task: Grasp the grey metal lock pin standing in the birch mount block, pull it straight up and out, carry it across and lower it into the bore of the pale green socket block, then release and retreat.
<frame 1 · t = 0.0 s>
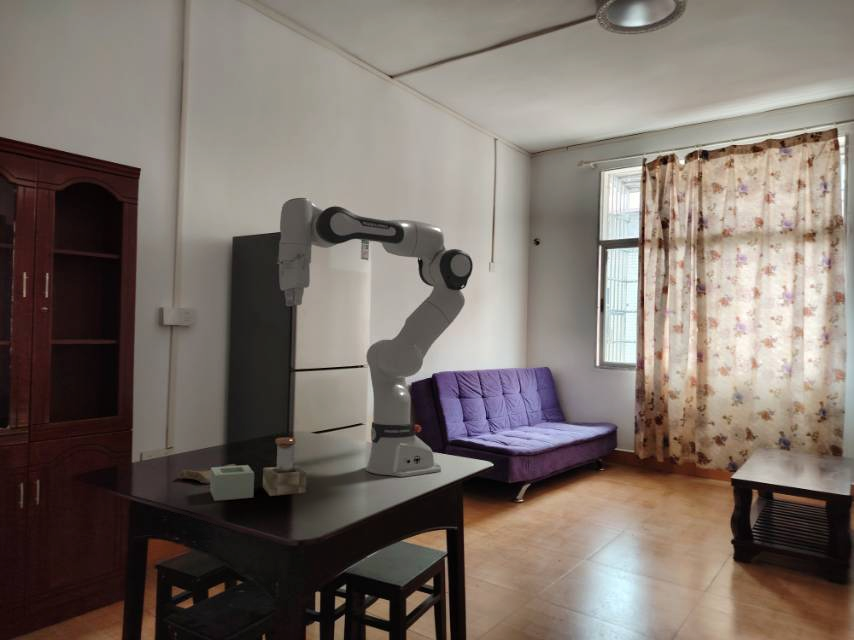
hand: (293, 305, 171), 48 cm above the table, fingers open, 8 cm apart
lock pin: (284, 464, 158), in the mount block
mount block: (283, 489, 157), on the table
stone: (211, 480, 168), on the table
socket block: (231, 494, 152), on the table
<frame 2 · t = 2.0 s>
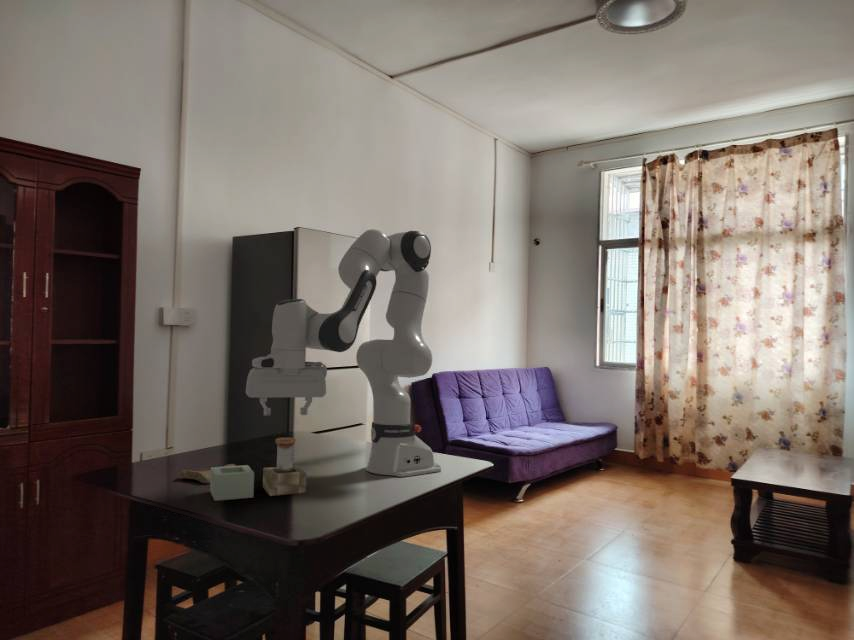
hand: (285, 415, 158), 19 cm above the table, fingers open, 8 cm apart
nothing on the table moved.
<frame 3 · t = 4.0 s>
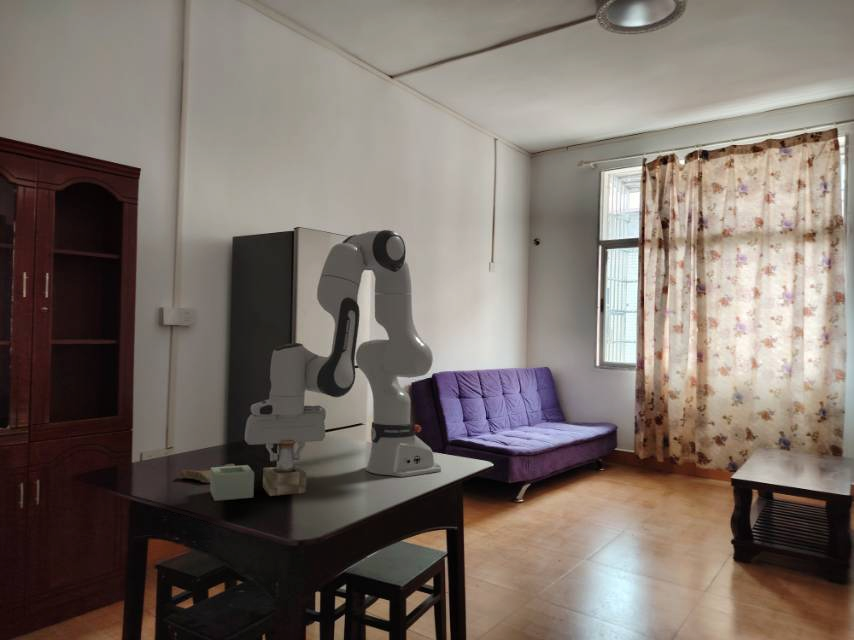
hand: (285, 460, 158), 8 cm above the table, fingers closed on lock pin, 4 cm apart
lock pin: (284, 464, 158), in the mount block, touching gripper
everything else where it was.
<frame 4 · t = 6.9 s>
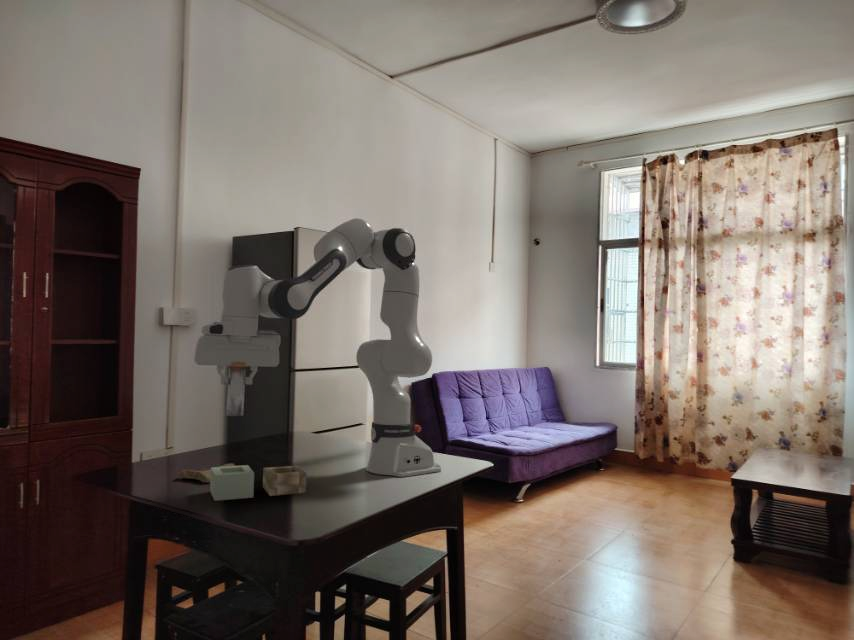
hand: (236, 384, 152), 27 cm above the table, fingers closed on lock pin, 4 cm apart
lock pin: (236, 388, 152), point 26 cm above the table, touching gripper
everything else where it was.
when the fingers open (10 cm above the table, at t = 10.1 s): lock pin drops 2 cm, resting in socket block.
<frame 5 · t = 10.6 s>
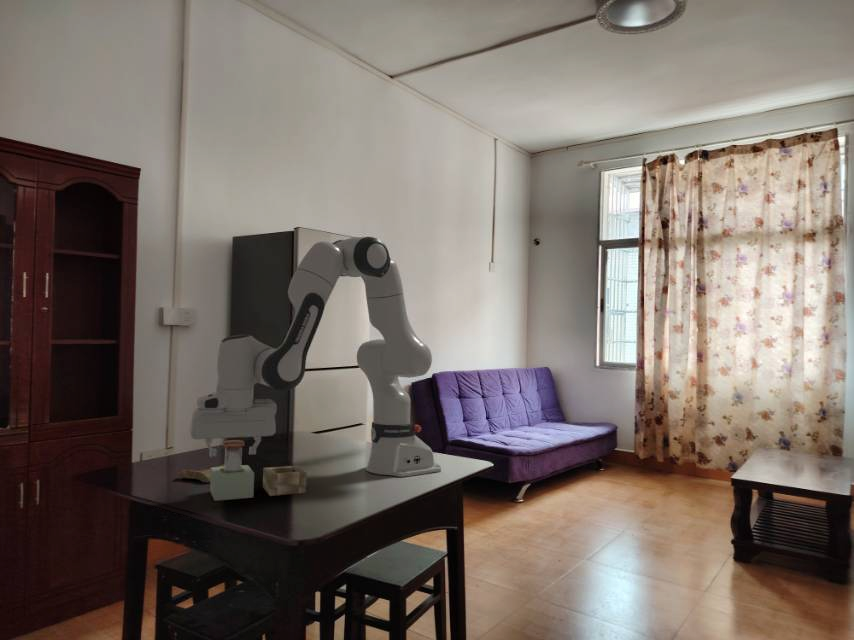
hand: (232, 455, 152), 10 cm above the table, fingers open, 8 cm apart
lock pin: (232, 468, 152), in the socket block
everything else where it was.
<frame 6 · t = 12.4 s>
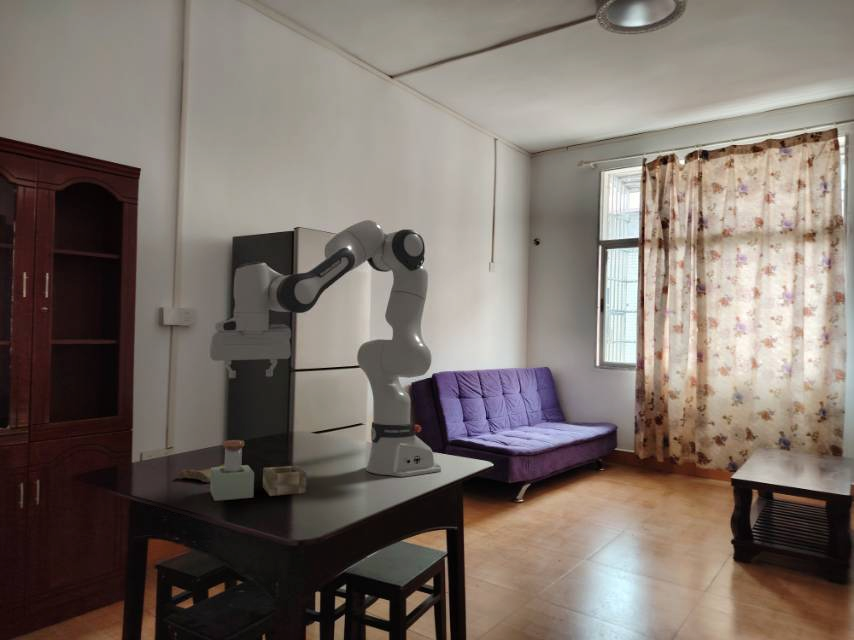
hand: (251, 377, 160), 29 cm above the table, fingers open, 8 cm apart
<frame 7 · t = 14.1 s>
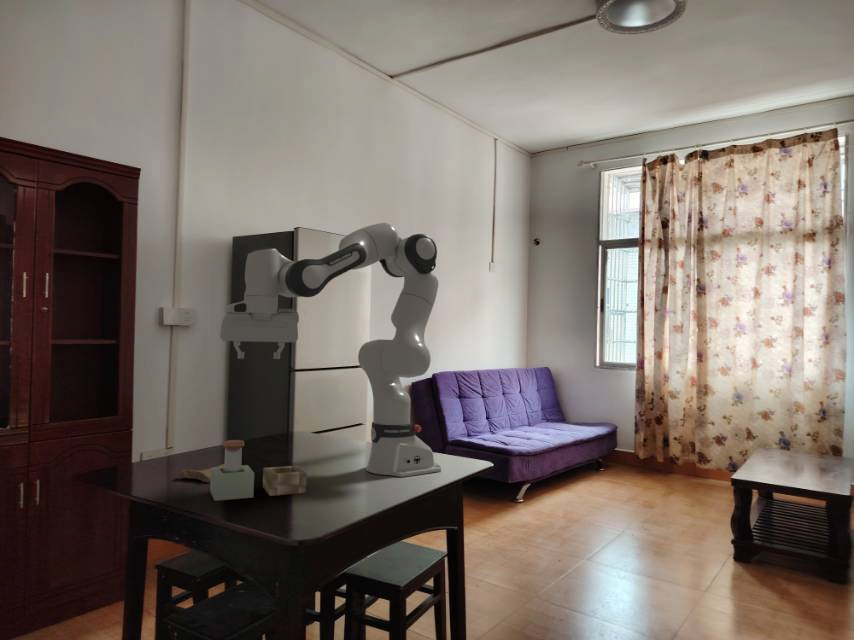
hand: (259, 358, 165), 33 cm above the table, fingers open, 8 cm apart
at the end: lock pin 0.1 cm off-centre on the socket block, point 6.5 cm above the socket block's base; lock pin tilted 0°; the gripper is holding nothing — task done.
